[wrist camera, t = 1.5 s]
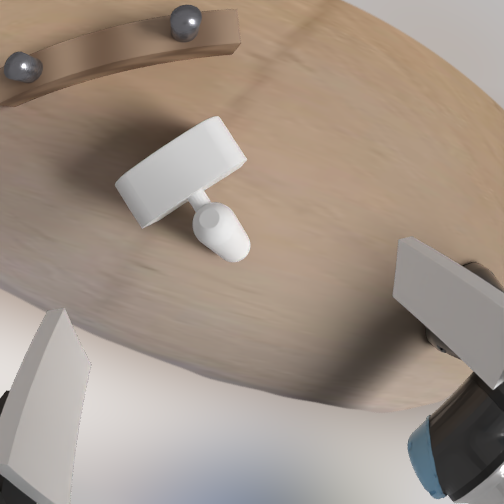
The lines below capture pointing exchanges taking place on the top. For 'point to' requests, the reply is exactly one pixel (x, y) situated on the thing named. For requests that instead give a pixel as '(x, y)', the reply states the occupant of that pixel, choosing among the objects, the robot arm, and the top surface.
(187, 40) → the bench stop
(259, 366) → the top surface
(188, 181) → the white knobbed block
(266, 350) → the top surface
